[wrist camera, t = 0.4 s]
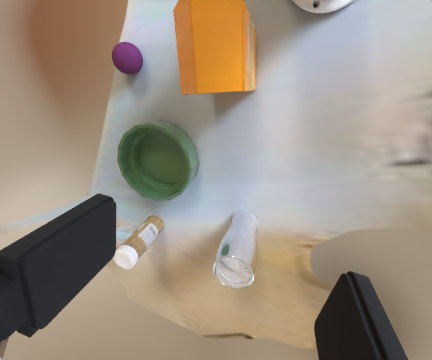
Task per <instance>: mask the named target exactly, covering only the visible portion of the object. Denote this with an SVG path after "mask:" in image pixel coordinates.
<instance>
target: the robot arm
mask: <svg viewBox="0 0 432 360" xmlns="http://www.w3.org/2000/svg"><path fill="white" fill-rule="evenodd" d="M292 1H293V2H294V3H295V4H296V5H298V6H299V7H300V8H302V9H304V10H306V11H308V12H313V13H328V12H333V11H335V10H338V9H341V8H343V7H344V6H346V5H348V4H349V3H351V2H352V1H354V0H292ZM314 4H316V5H317V7H316V8H314V6H313V5H314ZM115 252H116V203H115V202H114V200H113V198H112V197H109V196H106V195H103V194H96V195H95V196H93V197H91V198H89V199H88V200H86V201H84V202H83V203H81V204H79V205H77V206H76V207H74V208H72V209H71V210H69V211H67V212H65V213H64V214H62V215H60V216H59V217H57V218H55V219H53V220H52V221H50V222H48V223H47V224H45V225H43V226H41V227H40V228H38V229H36V230H35V231H33V232H31V233H30V234H28V235H26V236H24V237H23V238H21V239H19V240H17V241H16V242H14V243H12V244H11V245H9V246H7V247H5V248H4V249H2V250H0V360H5V359H3V355H4V352H5V349H6V345H7V342H8V338H9V336H10V335H11V334H12V333H14V332H15V331H16V330H17V332H18V333H21V334H23V335H25V336H28V337H31V336H32V335H33V334H34V333H35V332H36V331H37V330H38V329H43V328H44V327H46V326H47V325H48V324H49V323H50V322H51V321H52V319H54V318H55V317H56V316H57V314H58V313H59V312H60V311H61V310H62V309H63V308H64V307H65V306H66V305H67V304H68V303H69V302H70V301H71V300H72V299H73V298H74V297H75V296H76V295H77V294H78V293H79V292H80V291H81V290H82V289H83V288H84V287H85V286H86V285H87V284H88V283H89V282H90V281H91V280H92V279H93V278H94V277H95V276H96V274H97V273H98V272H99V271H100V270H101V269H102V268H103V267H104V266H105V265H106V264H107V263H108V262H109V261H110V260H111V259H112V258H113V257H114V255H115ZM314 330H315V337H316V344H317V350H318V356H319V360H408V358H407V356H406V354H405V353H404V350H403V348H402V346H401V344H400V342H399V340H398V338H397V336H396V333H395V331H394V330H393V327H392V325H391V323H390V321H389V319H388V317H387V315H386V313H385V311H384V309H383V306H382V304H381V303H380V300H379V298H378V296H377V294H376V292H375V290H374V288H373V286H372V284H371V282H370V280H369V278H368V277H367V276H364V275H360V274H357V273H354V272H351V271H349V272H347V274H341V276H340V278H339V280H338V281H337V283H336V285H335V286H334V288H333V290H332V292H331V294H330V295H329V297H328V299H327V301H326V303H325V304H324V306H323V308H322V310H321V312H320V313H319V315H318V317H317V319H316V321H315V326H314Z"/></svg>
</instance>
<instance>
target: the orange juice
mask: <svg viewBox="0 0 432 360" xmlns="http://www.w3.org/2000/svg"><path fill="white" fill-rule="evenodd" d="M173 11H174V21H175V31H176V41H177V51H178V61H179V71H180V81H181V92H182V95H187V94H205V93H213V94H214V93H224V92H234V93H235V92H243V91H252V90H255V72H256V30H255V27H254V25H253V22H252V19H251V16H250V15H249V12H248V10H247V7H246V5H245V2H244V0H179V1H178V3H177V5H176V7H175V8H174V10H173Z"/></svg>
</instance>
